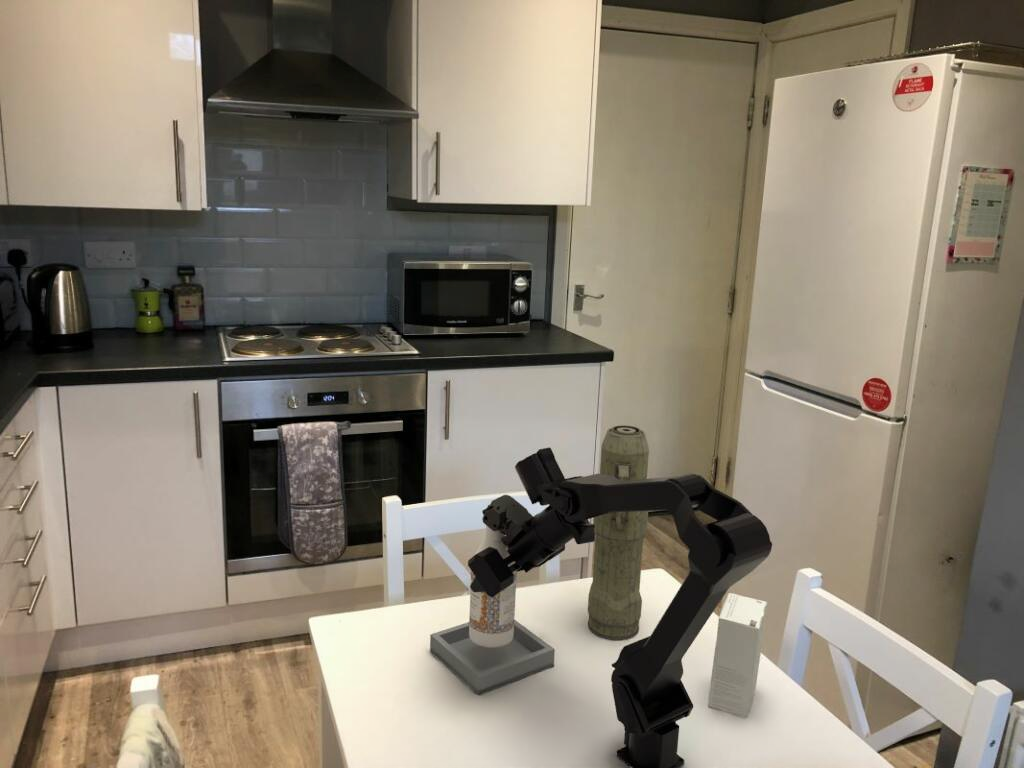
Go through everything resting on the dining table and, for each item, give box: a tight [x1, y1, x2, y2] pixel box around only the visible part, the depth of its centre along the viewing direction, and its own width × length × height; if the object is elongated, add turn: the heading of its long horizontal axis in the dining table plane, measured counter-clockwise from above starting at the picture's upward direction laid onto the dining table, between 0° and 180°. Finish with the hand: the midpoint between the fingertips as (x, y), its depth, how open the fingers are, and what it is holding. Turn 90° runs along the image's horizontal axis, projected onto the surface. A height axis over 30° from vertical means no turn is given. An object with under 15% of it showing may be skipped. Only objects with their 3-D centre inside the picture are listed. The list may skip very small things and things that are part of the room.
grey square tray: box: [429, 618, 556, 696], centre depth 131 cm, size 14×14×3 cm
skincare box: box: [707, 592, 768, 718], centre depth 122 cm, size 8×6×15 cm
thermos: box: [587, 424, 650, 642], centre depth 138 cm, size 9×12×35 cm
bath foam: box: [468, 525, 518, 648], centre depth 128 cm, size 7×7×20 cm
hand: (486, 580), depth 129 cm, fingers closed on bath foam, 7 cm apart
